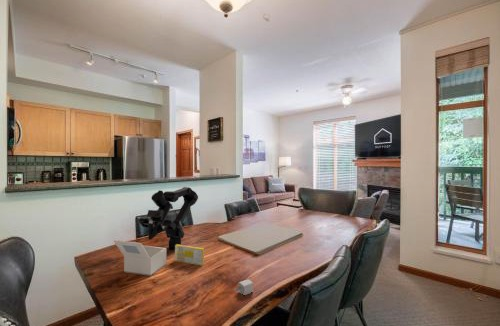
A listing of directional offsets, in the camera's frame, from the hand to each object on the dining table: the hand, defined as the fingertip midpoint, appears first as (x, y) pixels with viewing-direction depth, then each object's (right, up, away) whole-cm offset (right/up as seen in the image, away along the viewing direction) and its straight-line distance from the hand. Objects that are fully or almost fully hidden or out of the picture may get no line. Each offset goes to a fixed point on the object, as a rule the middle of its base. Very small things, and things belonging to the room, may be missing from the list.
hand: (149, 239), depth 112 cm
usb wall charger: (+46, -14, -22) cm, 53 cm away
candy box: (+18, -13, +4) cm, 23 cm away
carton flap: (-3, -1, -11) cm, 12 cm away
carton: (-1, -13, -2) cm, 13 cm away
